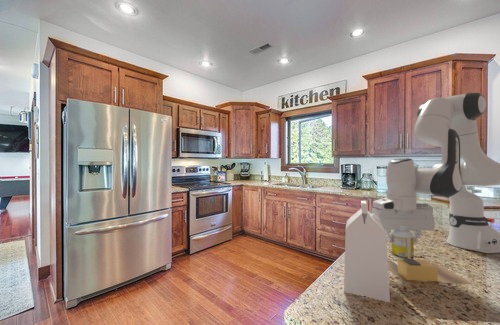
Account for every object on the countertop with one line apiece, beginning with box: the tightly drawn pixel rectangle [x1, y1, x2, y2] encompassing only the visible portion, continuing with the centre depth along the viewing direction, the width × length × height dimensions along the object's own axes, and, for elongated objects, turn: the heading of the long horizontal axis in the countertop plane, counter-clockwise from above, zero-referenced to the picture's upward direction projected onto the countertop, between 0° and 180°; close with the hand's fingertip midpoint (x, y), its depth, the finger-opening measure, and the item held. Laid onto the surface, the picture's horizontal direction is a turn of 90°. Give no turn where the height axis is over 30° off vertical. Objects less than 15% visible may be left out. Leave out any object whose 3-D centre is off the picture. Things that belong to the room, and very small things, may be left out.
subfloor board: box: [388, 261, 473, 285], centre depth 73 cm, size 20×14×1 cm
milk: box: [343, 200, 391, 303], centre depth 67 cm, size 12×12×26 cm
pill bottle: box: [390, 226, 415, 260], centre depth 77 cm, size 6×6×12 cm
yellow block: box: [396, 258, 438, 282], centre depth 70 cm, size 9×5×5 cm, turn 84°
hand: (402, 241), depth 77 cm, fingers closed on pill bottle, 6 cm apart
